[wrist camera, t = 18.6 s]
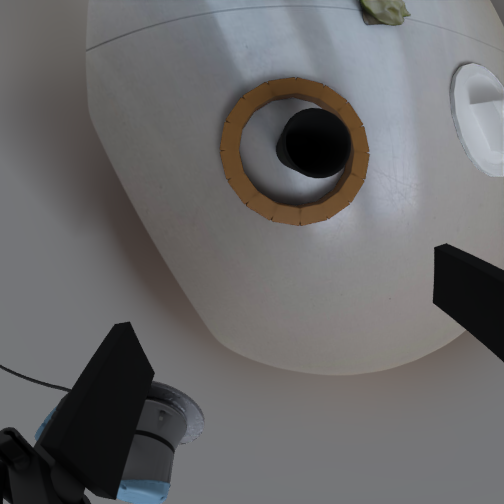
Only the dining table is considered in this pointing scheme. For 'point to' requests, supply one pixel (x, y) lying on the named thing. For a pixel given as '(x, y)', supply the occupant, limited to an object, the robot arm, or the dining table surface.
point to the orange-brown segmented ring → (326, 101)
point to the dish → (479, 116)
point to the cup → (314, 143)
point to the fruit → (383, 12)
